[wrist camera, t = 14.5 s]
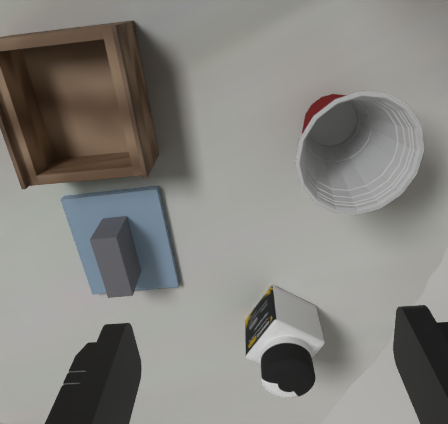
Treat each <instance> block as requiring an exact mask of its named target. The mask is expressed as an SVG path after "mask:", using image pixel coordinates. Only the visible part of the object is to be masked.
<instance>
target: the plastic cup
mask: <svg viewBox="0 0 448 424" xmlns="http://www.w3.org/2000/svg"><path fill="white" fill-rule="evenodd" d="M423 153H424V143H423V133H422V126H421V124H420V123H419V121H418V119H417V118H416V116H415V115H414V113H413V111H412V110H411V108H410V106H408V105H407V104H405V103H403V102H402V101H400V100H398V99H397V98H395V97H393V96H392V95H390V94H388V93H378V92H368V91H360V92H357V93H354V94H350V95H347V96H345V95H336V94H332V95H328V96H325V97H321V98H320V99H319V100H317V101H316V102H315V103H313V104H312V105H311V107H310V108H309V110H308V111H307V113H306V115H305V120H304V125H303V130H302V135H301V137H300V139H299V144H298V150H297V156H296V161H295V166H296V170H297V174H298V178H299V182H300V186H301V187H302V189H303V190H304V191H305V192H306V194H307V195H308V196H309V197H310V199H311V200H312V201H313V202H314V203H315V204H317V205H319V206H320V207H322V208H324V209H326V210H328V211H330V212H332V213H336V214H349V215H360V214H363V213H367V212H370V211H374V210H378V209H381V208H382V207H384V206H385V205H387V204H388V203H390V202H391V201H393V200H394V199H396V198H397V197H399V196H400V195H402V193H403V192H404V191H405V189H406V188H407V187H408V185H409V184H410V183H411V181H412V180H413V179H414V177H415V176H416V175H417V173H418V169H419V166H420V163H421V159H422V156H423Z"/></svg>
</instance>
